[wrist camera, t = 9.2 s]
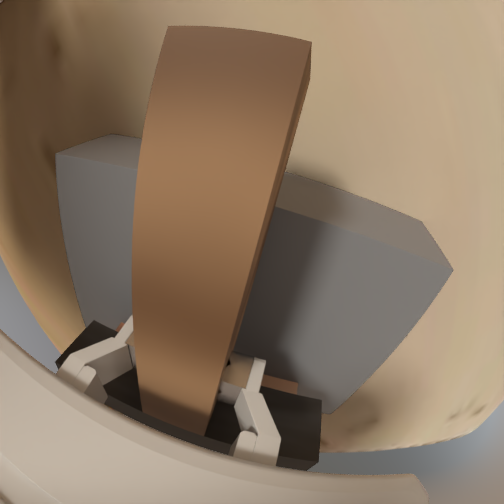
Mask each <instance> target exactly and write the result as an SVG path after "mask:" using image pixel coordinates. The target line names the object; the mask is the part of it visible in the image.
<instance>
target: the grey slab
mask: <svg viewBox="0 0 504 504" xmlns="http://www.w3.org/2000/svg"><path fill="white" fill-rule="evenodd" d="M141 142H142V139H141V138H135V137H129V136H122V135H115V134H109V135H106V136H103V137H100V138H97V139H94V140H91V141H88V142H85V143H82V144H79V145H76V146H74V147H71V148H68V149H66V150H63V151H60V152H58V153H55V159H56V178H57V191H58V201H59V210H60V218H61V225H62V231H63V237H64V243H65V248H66V254H67V259H68V263H69V268H70V272H71V277H72V281H73V285H74V289H75V293H76V296H77V300H78V303H79V307H80V310H81V314H82V317H83V320H84V323H85V326H86V328H87V327H88V326H89V324H90V323H91V322H92V321H93V320H95V321H97V322H99V323H101V324H103V325H105V326H107V327H109V328H111V329H113V330H116V329H117V327H118V326H119V325H120V323H121V322H122V323H124V324H125V323H126V322H127V320H128V319H129V318H130V316H131V315H132V233H133V215H134V202H135V190H136V180H137V171H138V163H139V156H140V148H141ZM452 272H453V268H452V267H451V265H450V263H449V262H448V260H447V258H446V257H445V255H444V254H443V252H442V251H441V249H440V248H439V246H438V244H437V243H436V241H435V240H434V238H433V237H432V236H431V234H430V233H429V231H428V230H427V228H426V227H425V226H424V224H423V223H422V222H421V221H419V220H417V219H414V218H412V217H410V216H407V215H405V214H403V213H400V212H398V211H395V210H393V209H390V208H388V207H385V206H383V205H380V204H378V203H375V202H373V201H370V200H367V199H365V198H362V197H359V196H357V195H354V194H351V193H348V192H346V191H343V190H340V189H337V188H334V187H331V186H328V185H325V184H322V183H319V182H316V181H313V180H310V179H307V178H304V177H301V176H297V175H294V174H291V173H287V172H285V173H284V176H283V180H282V183H281V187H280V191H279V194H278V198H277V201H276V205H275V208H274V212H273V215H272V219H271V222H270V226H269V229H268V233H267V236H266V240H265V243H264V247H263V250H262V254H261V257H260V261H259V264H258V268H257V271H256V275H255V278H254V282H253V285H252V289H251V292H250V295H249V299H248V302H247V306H246V309H245V313H244V316H243V319H242V323H241V326H240V330H239V333H238V336H237V340H236V343H235V346H234V350H233V351H236V352H240V353H243V354H247V355H250V356H254V357H256V358H259V359H263V360H266V365H265V370H264V374H265V375H268V376H272V377H276V378H280V379H284V380H288V381H292V382H296V383H298V389H297V395H301V396H305V397H310V398H315V399H320V400H322V413H325V414H331V413H333V412H334V411H335V410H336V409H337V408H338V407H339V406H340V405H342V404H343V403H344V402H345V401H346V400H347V399H348V398H349V397H350V396H351V395H352V394H353V393H354V392H355V391H356V390H357V389H358V388H359V387H360V386H361V385H362V384H363V383H364V382H365V381H366V380H367V379H368V378H369V377H370V376H371V375H372V374H373V373H374V372H375V371H376V370H377V369H378V368H379V367H380V366H381V365H382V364H383V362H384V361H385V360H386V359H387V358H388V357H389V356H390V355H391V354H392V352H393V351H394V350H395V349H396V348H397V347H398V345H399V344H400V343H401V342H402V341H403V339H404V338H405V337H406V336H407V335H408V333H409V332H410V331H411V330H412V328H413V327H414V326H415V325H416V323H417V322H418V321H419V319H420V318H421V317H422V315H423V314H424V313H425V311H426V310H427V309H428V307H429V306H430V304H431V303H432V302H433V300H434V299H435V297H436V296H437V295H438V293H439V292H440V290H441V289H442V287H443V286H444V284H445V283H446V281H447V280H448V278H449V276H450V275H451V273H452Z"/></svg>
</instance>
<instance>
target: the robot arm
mask: <svg viewBox="0 0 504 504" xmlns="http://www.w3.org/2000/svg"><path fill="white" fill-rule="evenodd" d="M2 1H3V0H0V3H1V2H2ZM265 365H266V360H263V359H259V358H256V357H254V356H250V355H247V354H243V353H240V352H236V351H233V350H232V351H231V354H230V356H229V360H228V363H227V367H226V368H225V371H224V374H223V376H222V379H221V382H220V386H219V390H218V393H217V397H216V400H218V401H221V402H224V403H227V404H230V405H233V406H234V408H235V412H236V415H237V419H238V422H239V425H240V429H241V432H240V434H239V435H238V437H237V438H236V440H235V441H234V443H233V444H232V446H231V448H230V451H229V454H228V455H225V454H221V453H218V452H215V451H211V450H208V449H205V448H202V447H199V446H196V445H193V444H190V443H187V442H185V441H182V440H179V439H177V438H174V437H171V436H169V435H166V434H164V433H162V432H159V431H157V430H154V429H152V428H150V427H148V426H145V425H143V424H141V423H139V422H137V421H135V420H133V419H131V418H129V417H126V416H125V415H123V414H121V413H119V412H117V411H115V410H113V409H111V408H109V407H107V406H106V405H104V403H105V401H106V399H107V398H108V396H107V393H106V391H105V389H104V387H103V385H104V384H106V383H108V382H110V381H111V380H113V379H115V378H117V377H118V376H120V375H122V374H124V373H125V372H127V371H129V370H131V369H132V368H133V367H134V368H136V369H137V367H136V357H135V346H134V332H133V315H131V316H130V318H129V319H128V320H127V322H126V323H125V324H124V326H123V327H122V328H121V330H120V331H119V333H118V334H117V335H116V337H115V338H113V337H111V338H108V339H106V340H104V341H101V342H99V343H96V344H94V345H91V346H89V347H86V348H84V349H81V350H79V351H77V352H74V353H72V354H70V355H69V357H68V358H67V359H66V361H65V362H64V363H63V365H62V366H61V367H60V369H59V370H58V371H57V373H56V374H55V373H53V372H52V371H50V370H49V369H47V368H46V367H45V366H44V365H42V364H41V363H40V362H38V361H37V360H36V359H34V358H33V357H32V356H31V355H29V354H28V353H27V352H26V351H25V350H23V349H22V348H21V347H20V346H19V345H17V344H16V343H15V342H14V341H13V340H12V339H10V338H9V337H8V336H7V335H6V334H5V333H4V332H3V331H2V330H1V329H0V504H429V497H428V493H427V492H426V490H425V488H424V487H423V486H422V484H421V482H420V481H419V480H418V478H417V477H416V476H415V475H413V474H396V475H345V474H344V475H343V474H330V473H329V474H328V473H319V472H310V471H302V470H295V469H288V468H282V467H276V462H277V457H278V452H279V447H280V442H281V437H280V435H279V433H278V430H277V428H276V426H275V423H274V421H273V419H272V416H271V414H270V411H269V409H268V407H267V404H266V402H265V399H264V397H263V395H262V394H261V393H259V390H260V386H261V382H262V378H263V374H264V370H265Z"/></svg>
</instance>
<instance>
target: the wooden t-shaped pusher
mask: <svg viewBox="0 0 504 504" xmlns="http://www.w3.org/2000/svg"><path fill="white" fill-rule="evenodd" d="M311 45H312V42H310V41H306V40H302V39H297V38H293V37H288V36H283V35H277V34H272V33H266V32H259V31H252V30H244V29H235V28H224V27H208V26H168V29H167V32H166V35H165V38H164V42H163V45H162V49H161V52H160V56H159V60H158V63H157V67H156V71H155V75H154V79H153V84H152V88H151V93H150V97H149V102H148V107H147V112H146V118H145V123H144V129H143V135H142V142H141V148H140V156H139V163H138V171H137V180H136V190H135V202H134V215H133V233H132V315H133V332H134V346H135V357H136V367H137V369H136V368H134V367H133V368H132V369H131V370H129V371H127V372H125V373H124V374H122V375H120V376H118V377H117V378H115V379H113V380H111V381H110V382H108V383H106V384H104V385H103V387H104V389H105V391H106V393H107V396H108V398H107V399H106V401H105V403H104V404H105V405H107V406H109V407H111V408H113V409H114V410H116V411H118V412H120V413H122V414H124V415H126V416H128V417H130V418H132V419H134V420H136V421H138V422H140V423H143V424H145V425H147V426H149V427H152V428H154V429H156V430H158V431H161V432H163V433H166V434H168V435H171V436H173V437H176V438H178V439H181V440H184V441H186V442H189V443H192V444H195V445H198V446H201V447H204V448H207V449H210V450H213V451H217V452H220V453H223V454H227V455H228V454H229V451H230V448H231V446H232V444H233V443H234V441H235V440H236V438H237V437H238V435H239V434H240V432H241V429H240V425H239V422H238V419H237V415H236V412H235V408H234V406H233V405H230V404H227V403H224V402H221V401H218V400H216V397H217V393H218V390H219V386H220V382H221V379H222V376H223V374H224V371H225V368H226V367H227V363H228V360H229V356H230V354H231V351H232V350H234V346H235V343H236V340H237V336H238V333H239V330H240V326H241V323H242V319H243V316H244V313H245V309H246V306H247V302H248V299H249V295H250V292H251V289H252V285H253V282H254V278H255V275H256V271H257V268H258V264H259V261H260V257H261V254H262V250H263V247H264V243H265V240H266V236H267V233H268V229H269V226H270V222H271V219H272V215H273V212H274V208H275V205H276V201H277V198H278V194H279V191H280V187H281V183H282V180H283V176H284V173H285V169H286V165H287V162H288V158H289V155H290V151H291V147H292V144H293V140H294V136H295V133H296V129H297V125H298V122H299V118H300V114H301V111H302V107H303V103H304V100H305V96H306V92H307V89H308V85H309V81H310V69H311ZM118 333H119V332H117V331H115V330H113V329H111V328H109V327H107V326H105V325H103V324H101V323H99V322H97V321H95V320H93V321H92V322H91V323H90V324H89V326H88V327H87V328H86V329H85V330H84V331H83V332H82V333H81V334H80V335H79V336H78V337H77V338H76V339H75V341H74V342H73V343H72V344H71V345H70V346H69V347H68V348H67V349H66V350H65V351H64V353H63V354H62V355H61V356H60V357H59V358H58V359H57V360H56V362H55V363H56V365H57V367H58V370H59V369H60V367H61V366H62V365H63V363H64V362H65V361H66V359H67V358H68V357H69V355H70V354H72V353H74V352H77V351H79V350H81V349H84V348H86V347H89V346H91V345H94V344H96V343H99V342H101V341H104V340H106V339H108V338H111V337H113V338H115V337H116V335H117V334H118ZM259 393H261V394H262V395H263V397H264V399H265V402H266V404H267V407H268V409H269V411H270V414H271V416H272V419H273V421H274V423H275V426H276V428H277V430H278V433H279V435H280V437H281V442H280V447H279V452H278V457H277V462H276V466H279V467H285V468H291V469H297V470H305V471H307V470H308V469H309V468H311V467H312V466H314V465H315V464H316V463H318V461H319V449H320V433H321V413H322V400H320V399H315V398H310V397H305V396H301V395H296V394H292V393H288V392H284V391H280V390H276V389H272V388H268V387H264V386H260V390H259Z"/></svg>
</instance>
